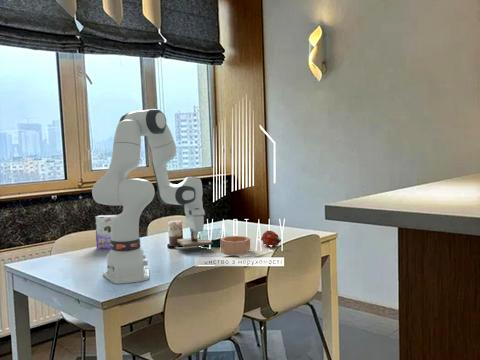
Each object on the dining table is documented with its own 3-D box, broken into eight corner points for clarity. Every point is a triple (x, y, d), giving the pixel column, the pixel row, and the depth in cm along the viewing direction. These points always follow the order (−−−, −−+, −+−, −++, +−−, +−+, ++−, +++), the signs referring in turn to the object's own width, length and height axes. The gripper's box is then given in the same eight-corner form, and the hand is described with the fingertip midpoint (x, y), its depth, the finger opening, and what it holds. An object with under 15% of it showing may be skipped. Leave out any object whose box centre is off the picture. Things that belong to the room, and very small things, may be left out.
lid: (212, 244, 236) (212, 234, 235) (183, 247, 231) (183, 236, 230) (203, 239, 249) (203, 229, 248) (176, 241, 244) (176, 231, 243)
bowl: (253, 252, 232) (253, 240, 232) (226, 255, 227) (226, 243, 227) (243, 246, 245) (243, 235, 244) (217, 249, 240) (217, 237, 239)
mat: (215, 251, 236) (215, 250, 236) (182, 254, 231) (182, 254, 231) (204, 244, 251) (204, 243, 251) (174, 247, 245) (174, 246, 245)
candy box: (126, 246, 250) (125, 214, 248) (122, 249, 244) (121, 216, 243) (100, 246, 251) (99, 214, 250) (96, 249, 246) (94, 216, 244)
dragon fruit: (264, 246, 251) (278, 254, 242) (254, 239, 247) (267, 246, 237) (273, 232, 253) (287, 240, 243) (263, 224, 248) (277, 232, 238)
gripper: (182, 207, 247) (182, 234, 248) (192, 212, 228) (193, 242, 229) (194, 206, 249) (194, 233, 250) (205, 211, 230) (206, 241, 231)
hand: (194, 237), depth 239 cm, fingers closed on lid, 3 cm apart
